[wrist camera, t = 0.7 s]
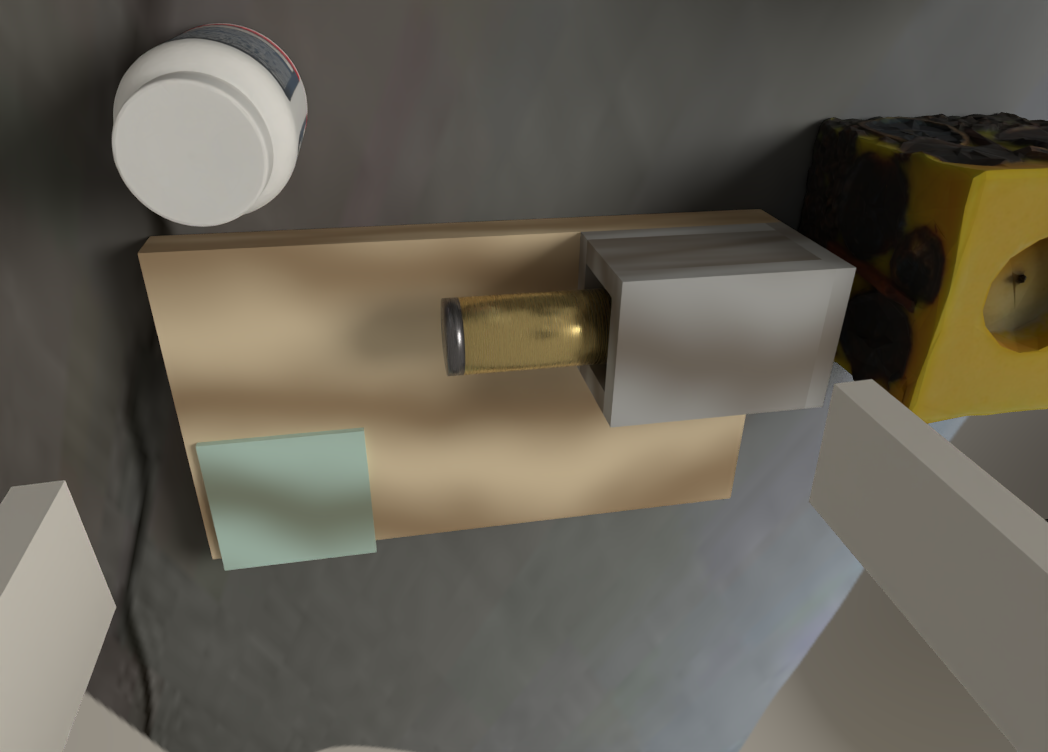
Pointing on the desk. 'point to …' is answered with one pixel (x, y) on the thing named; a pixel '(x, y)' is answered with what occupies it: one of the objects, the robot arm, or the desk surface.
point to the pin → (525, 331)
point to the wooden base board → (477, 399)
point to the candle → (939, 256)
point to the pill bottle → (209, 124)
